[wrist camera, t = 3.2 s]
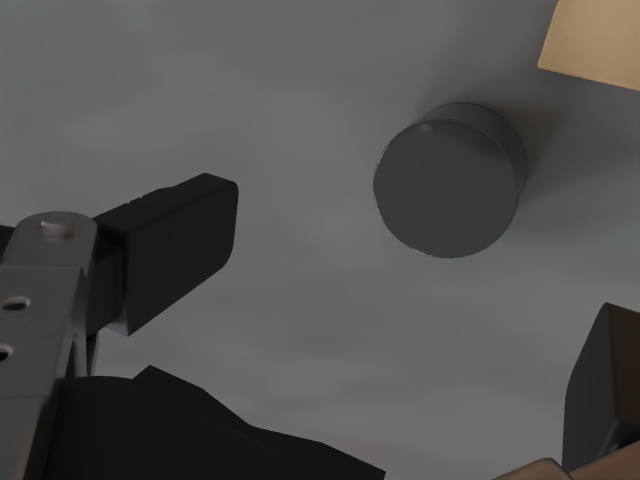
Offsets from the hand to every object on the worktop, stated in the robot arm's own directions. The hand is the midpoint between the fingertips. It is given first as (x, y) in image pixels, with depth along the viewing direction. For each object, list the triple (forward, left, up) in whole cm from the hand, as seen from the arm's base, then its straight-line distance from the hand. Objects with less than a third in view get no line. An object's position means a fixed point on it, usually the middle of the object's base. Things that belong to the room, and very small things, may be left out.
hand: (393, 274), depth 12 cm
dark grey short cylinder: (0, 0, -10) cm, 10 cm away
